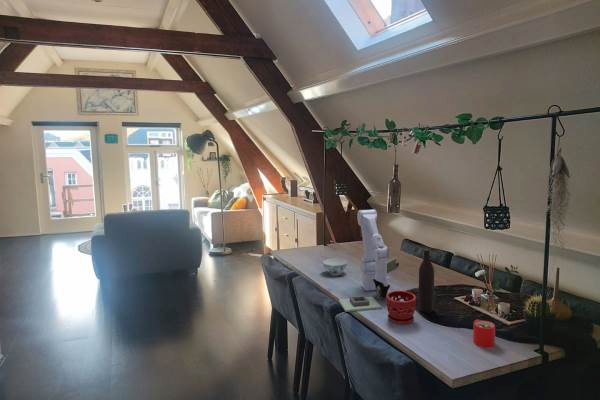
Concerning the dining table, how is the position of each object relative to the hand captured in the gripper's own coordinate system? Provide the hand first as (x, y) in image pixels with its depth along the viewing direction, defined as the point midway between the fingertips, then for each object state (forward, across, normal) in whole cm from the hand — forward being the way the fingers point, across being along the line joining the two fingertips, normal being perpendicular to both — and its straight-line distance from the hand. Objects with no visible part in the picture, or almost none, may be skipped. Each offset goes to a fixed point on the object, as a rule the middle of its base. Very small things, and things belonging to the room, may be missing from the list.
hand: (381, 295), depth 218 cm
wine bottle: (+2, -21, -15) cm, 26 cm away
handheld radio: (+2, +44, -22) cm, 49 cm away
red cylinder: (+2, -54, -23) cm, 59 cm away
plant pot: (+2, -29, +1) cm, 29 cm away
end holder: (+1, -7, +14) cm, 16 cm away
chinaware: (+2, +45, +14) cm, 47 cm away
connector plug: (+2, 0, 0) cm, 2 cm away
